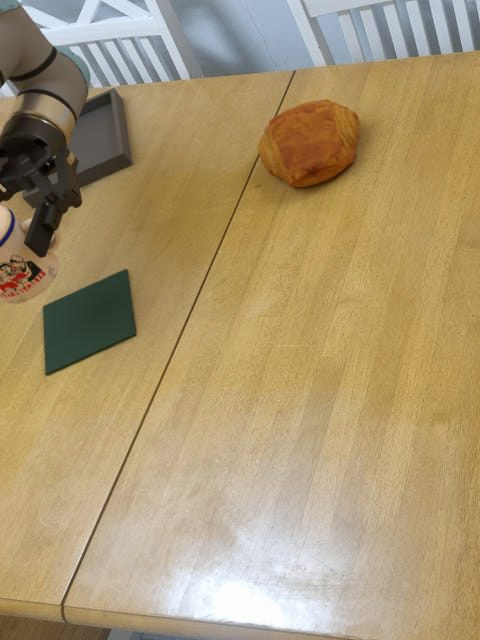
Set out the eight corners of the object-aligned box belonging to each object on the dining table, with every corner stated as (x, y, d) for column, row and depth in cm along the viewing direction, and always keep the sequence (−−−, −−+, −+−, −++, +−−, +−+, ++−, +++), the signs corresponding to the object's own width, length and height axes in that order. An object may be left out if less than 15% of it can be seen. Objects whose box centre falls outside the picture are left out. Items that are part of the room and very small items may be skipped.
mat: (47, 375, 98) (45, 374, 98) (44, 307, 106) (42, 306, 105) (136, 335, 99) (134, 333, 98) (127, 270, 106) (126, 268, 106)
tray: (32, 208, 119) (22, 198, 117) (30, 139, 130) (21, 128, 128) (132, 164, 119) (123, 152, 117) (122, 98, 130) (113, 87, 128)
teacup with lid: (-2, 318, 92) (-80, 259, 82) (-4, 270, 97) (-79, 210, 87) (86, 275, 92) (19, 212, 83) (79, 230, 98) (15, 165, 88)
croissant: (275, 151, 116) (245, 112, 110) (362, 110, 113) (336, 68, 107) (277, 212, 108) (244, 175, 102) (371, 170, 105) (343, 129, 99)
